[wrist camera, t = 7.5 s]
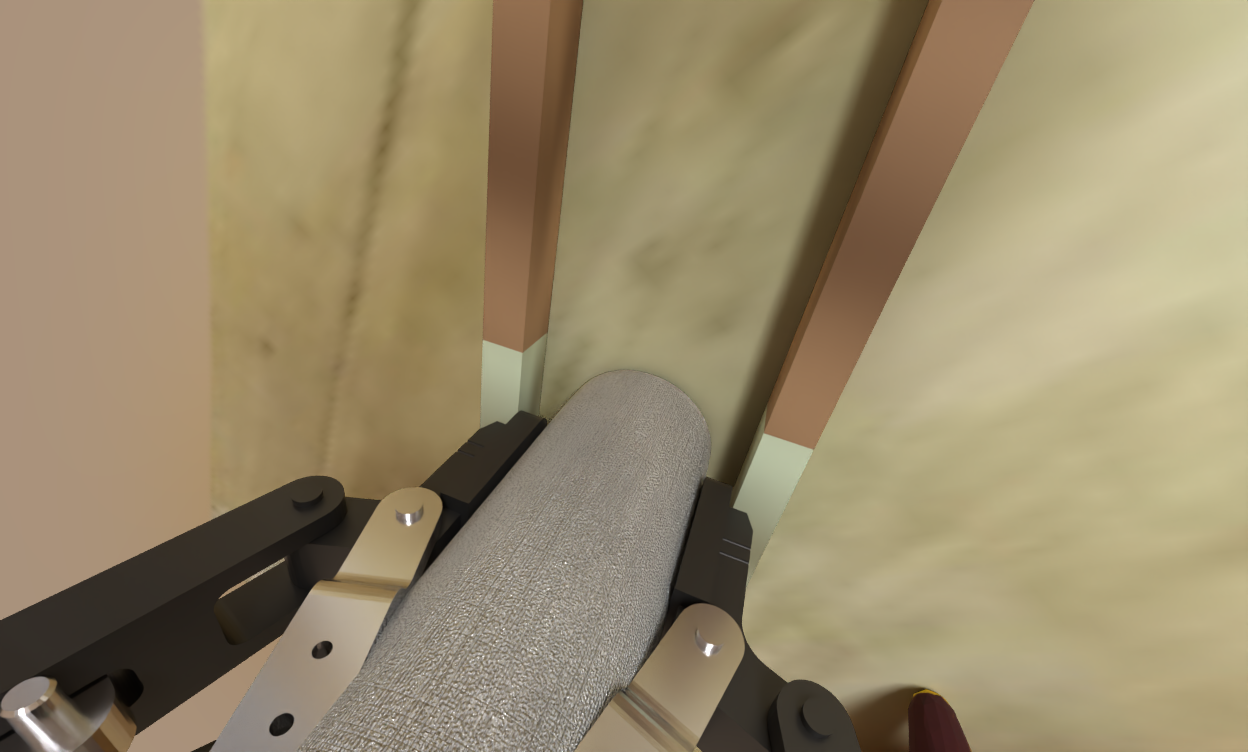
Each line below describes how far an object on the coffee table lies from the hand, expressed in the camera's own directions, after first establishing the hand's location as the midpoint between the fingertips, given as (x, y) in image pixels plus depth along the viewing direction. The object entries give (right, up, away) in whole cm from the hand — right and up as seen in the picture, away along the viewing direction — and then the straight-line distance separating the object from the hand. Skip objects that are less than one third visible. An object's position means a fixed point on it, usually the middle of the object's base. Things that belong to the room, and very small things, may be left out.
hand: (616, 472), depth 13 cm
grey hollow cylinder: (+1, +1, +2) cm, 2 cm away
